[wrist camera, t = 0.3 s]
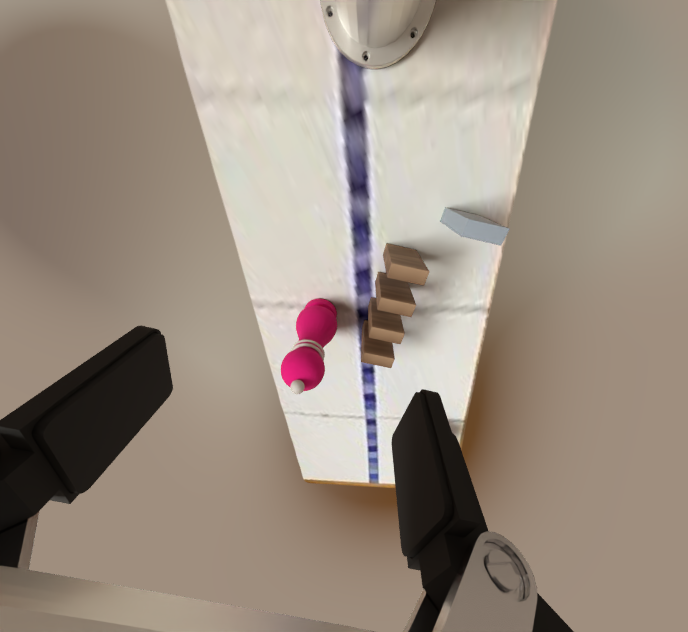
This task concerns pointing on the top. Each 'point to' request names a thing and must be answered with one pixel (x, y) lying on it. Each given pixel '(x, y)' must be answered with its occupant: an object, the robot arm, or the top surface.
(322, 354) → the pepper mill
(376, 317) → the domino
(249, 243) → the top surface
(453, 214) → the domino
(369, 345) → the domino
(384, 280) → the domino
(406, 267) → the domino
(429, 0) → the robot arm
